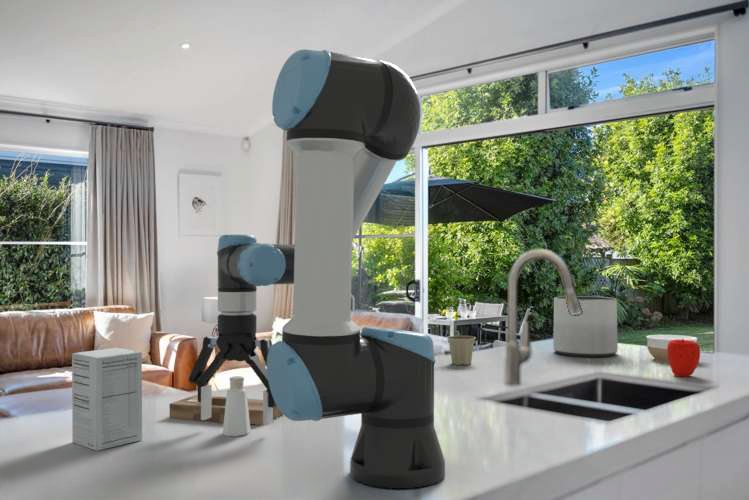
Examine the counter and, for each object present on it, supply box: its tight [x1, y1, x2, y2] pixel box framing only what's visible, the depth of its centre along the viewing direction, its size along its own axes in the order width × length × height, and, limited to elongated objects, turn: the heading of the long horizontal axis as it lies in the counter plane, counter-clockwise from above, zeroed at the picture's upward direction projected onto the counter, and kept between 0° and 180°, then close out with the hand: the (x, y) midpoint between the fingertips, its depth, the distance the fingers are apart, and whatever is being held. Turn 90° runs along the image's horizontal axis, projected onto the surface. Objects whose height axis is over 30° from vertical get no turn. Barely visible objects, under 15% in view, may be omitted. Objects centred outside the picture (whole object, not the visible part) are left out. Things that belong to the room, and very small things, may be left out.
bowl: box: [645, 333, 698, 363], centre depth 233 cm, size 16×16×8 cm
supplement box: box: [71, 347, 143, 452], centre depth 130 cm, size 10×9×17 cm
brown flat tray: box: [169, 394, 284, 426], centre depth 150 cm, size 10×22×3 cm, turn 72°
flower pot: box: [446, 335, 477, 366], centre depth 224 cm, size 9×9×9 cm
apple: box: [667, 339, 701, 378], centre depth 203 cm, size 9×9×11 cm
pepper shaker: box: [222, 375, 252, 437], centre depth 136 cm, size 5×5×11 cm
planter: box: [552, 295, 618, 358], centre depth 249 cm, size 22×22×20 cm
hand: (236, 421), depth 136 cm, fingers open, 13 cm apart
